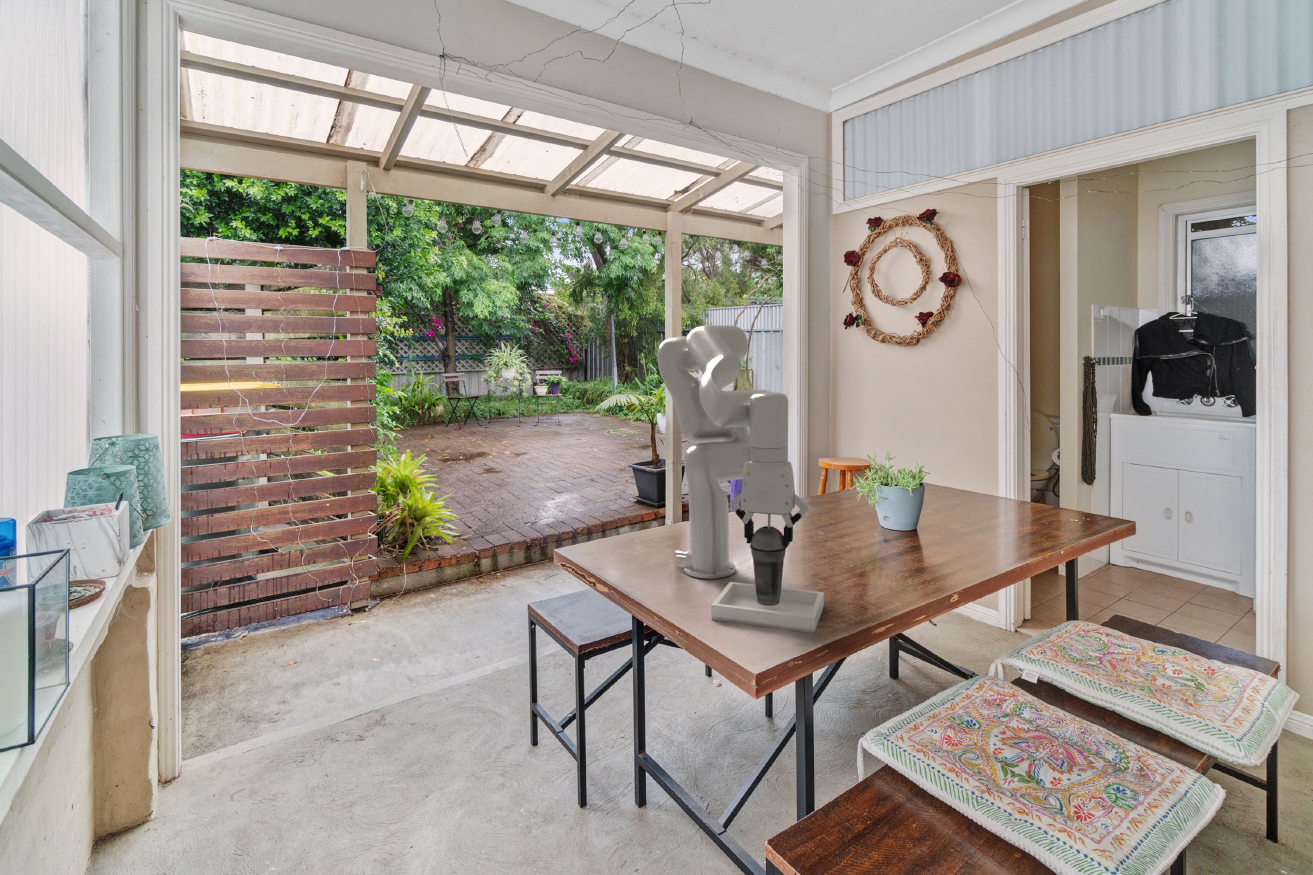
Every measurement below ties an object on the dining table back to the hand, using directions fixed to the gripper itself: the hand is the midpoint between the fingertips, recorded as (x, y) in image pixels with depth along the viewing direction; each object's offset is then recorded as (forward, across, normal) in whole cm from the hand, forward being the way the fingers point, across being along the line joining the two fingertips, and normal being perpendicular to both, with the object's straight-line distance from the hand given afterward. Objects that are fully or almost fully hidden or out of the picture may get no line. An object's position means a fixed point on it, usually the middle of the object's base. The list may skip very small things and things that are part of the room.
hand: (768, 542), depth 126 cm
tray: (+15, 0, 0) cm, 15 cm away
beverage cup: (+13, 0, 0) cm, 13 cm away
